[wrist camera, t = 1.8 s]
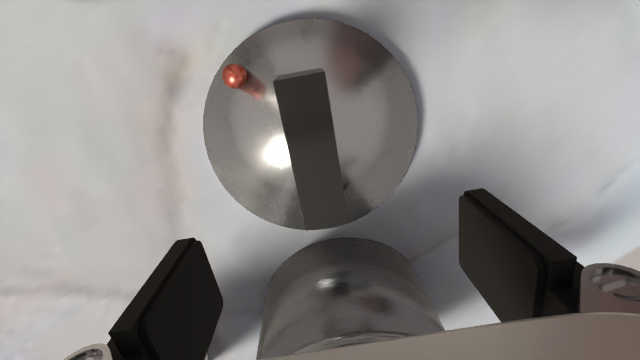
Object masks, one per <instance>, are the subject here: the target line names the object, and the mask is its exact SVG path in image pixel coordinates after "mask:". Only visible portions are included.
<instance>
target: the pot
mask: <svg viewBox="0 0 640 360" xmlns="http://www.w3.org/2000/svg"><path fill="white" fill-rule="evenodd" d="M440 331H445V329H444V327H443V326H442V324H441V322H440V320H439V318H438V316H437V314H436V312H435V310H434V308H433V306H432V304H431V302H430V300H429V298H428V296H427V294H426V292H425V290H424V288H423V286H422V284H421V282H420V281H419V279H418V277H417V275H416V273H415V271H414V269H413V267H412V266H411V265H410V263H409V262H408V261H407V260H406V259H405V258H404V257H403V256H402V255H401V254H399V253H398V252H397V251H395V250H394V249H392V248H390V247H388V246H386V245H384V244H381V243H378V242H376V241H371V240H367V239H360V238H338V239H330V240H326V241H322V242H319V243H316V244H313V245H310V246H308V247H306V248H304V249H302V250H300V251H299V252H297V253H296V254H294V255H292V256H291V257H290V258H289V259H288V260H286V261H285V262H284V263H283V264H282V265H281V266H280V267H279V269H278V270H277V271H276V273H275V274H274V276H273V277H272V279H271V282H270V284H269V286H268V290H267V293H266V300H265V306H264V313H263V319H262V326H261V332H260V338H259V345H258V351H257V358H256V360H260V359H266V358H272V357H278V356H284V355H291V354H297V353H303V352H310V351H316V350H323V349H329V348H335V347H342V346H348V345H355V344H361V343H368V342H374V341H380V340H387V339H393V338H400V337H407V336H413V335H420V334H427V333H433V332H440Z"/></svg>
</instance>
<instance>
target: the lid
mask: <svg viewBox="0 0 640 360" xmlns="http://www.w3.org/2000/svg"><path fill="white" fill-rule="evenodd" d="M203 132H204V140H205V146H206V150H207V153H208V157H209V160H210V162H211V165H212V167H213V170H214V171H215V173H216V175H217V177H218V178H219V180H220V182H221V183H222V185H223V186H224V187H225V189H226V190H227V191H228V192H229V193H230V195H231V196H232V197H233V198H234V199H235V200H236V201H237V202H238V203H240V204H241V205H242V206H243V207H245V208H246V209H247V210H249V211H250V212H252V213H253V214H255V215H256V216H258V217H260V218H262V219H264V220H266V221H268V222H271V223H274V224H277V225H280V226H284V227H288V228H293V229H302V230H319V229H328V228H333V227H337V226H341V225H344V224H347V223H350V222H353V221H355V220H357V219H359V218H361V217H363V216H365V215H366V214H368V213H369V212H371V211H372V210H374V209H375V208H377V207H378V206H379V205H380V204H381V203H383V202H384V201H385V200H386V199H387V198H388V197H389V196H390V195H391V194H392V193H393V191H394V190H395V189H396V187H397V186H398V185H399V183H400V182H401V180H402V179H403V177H404V175H405V173H406V172H407V170H408V167H409V165H410V163H411V160H412V157H413V154H414V150H415V147H416V141H417V134H418V115H417V106H416V102H415V98H414V94H413V91H412V88H411V86H410V83H409V81H408V78H407V76H406V75H405V73H404V71H403V70H402V68H401V66H400V65H399V63H398V62H397V61H396V60H395V58H394V57H393V56H392V54H391V53H390V52H389V51H388V50H387V49H385V48H384V47H383V46H382V45H381V44H380V43H379V42H378V41H376V40H375V39H373V38H372V37H371V36H369V35H368V34H366V33H364V32H362V31H360V30H358V29H356V28H354V27H352V26H349V25H346V24H343V23H340V22H337V21H331V20H326V19H311V18H305V19H296V20H289V21H285V22H282V23H278V24H274V25H272V26H270V27H268V28H265V29H263V30H261V31H259V32H257V33H256V34H254V35H252V36H251V37H249V38H248V39H246V40H245V41H244V42H243V43H241V44H240V45H239V46H238V47H237V48H236V49H234V51H233V52H232V53H231V54H230V55H229V56H228V57H227V59H226V60H225V61H224V62H223V64H222V65H221V67H220V69H219V70H218V72H217V73H216V75H215V77H214V79H213V82H212V84H211V86H210V88H209V92H208V95H207V99H206V102H205V109H204V116H203Z"/></svg>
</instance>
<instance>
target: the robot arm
mask: <svg viewBox="0 0 640 360" xmlns="http://www.w3.org/2000/svg"><path fill="white" fill-rule="evenodd" d="M576 260H577V257H576V256H575V255H573V254H572V253H571V252H569V251H568V250H567V249H565V248H564V247H562V246H561V245H560V244H558V243H557V242H556V241H554V240H553V239H552V238H550V237H549V236H547V235H546V234H545V233H543V232H542V231H541V230H539V229H538V228H537V227H535V226H534V225H533V224H531V223H530V222H528V221H527V220H526V219H524V218H523V217H522V216H520V215H519V214H518V213H516V212H515V211H513V210H512V209H511V208H509V207H508V206H507V205H505V204H504V203H503V202H501V201H500V200H499V199H497V198H496V197H494V196H493V195H492V194H490V193H489V192H488V191H486V190H485V189H483V188H481V189H475V190H469V191H465V192H464V195H463V196H460V198H459V262H460V265H461V268H462V269H463V271H464V272H465V273H466V275H467V276H468V278H469V279H470V280H471V282H472V283H473V284H474V286H475V287H476V288H477V290H478V291H479V293H480V294H481V295H482V297H483V298H484V299H485V301H486V302H487V303H488V305H489V306H490V308H491V309H492V310H493V312H494V313H495V314H496V316H497V317H498V318H499V320H500V321H501V323H494V324H487V325H480V326H474V327H467V328H460V329H454V330H447V331H440V332H433V333H427V334H420V335H413V336H407V337H400V338H393V339H387V340H380V341H374V342H368V343H361V344H355V345H348V346H342V347H335V348H329V349H323V350H316V351H310V352H303V353H297V354H291V355H284V356H278V357H272V358H266V359H260V360H640V272H639V271H637V270H635V269H632V268H628V267H625V266H621V265H616V264H608V263H596V264H592V265H588V266H586V267H584V266H582V265H581V264H580V263H578V262H577V261H576ZM222 308H223V298H222V295H221V293H220V290H219V287H218V285H217V282H216V279H215V277H214V274H213V271H212V269H211V266H210V264H209V261H208V258H207V256H206V253H205V250H204V248H203V245H202V243H201V242H200V241H197V240H196V239H195V238H188V239H182V240H177V241H176V242H175V243H174V244H173V246H172V247H171V248H170V250H169V251H168V252H167V254H166V255H165V256H164V258H163V259H162V261H161V262H160V263H159V265H158V266H157V267H156V269H155V270H154V271H153V273H152V274H151V275H150V277H149V278H148V280H147V281H146V282H145V284H144V285H143V286H142V288H141V289H140V290H139V292H138V293H137V294H136V296H135V297H134V299H133V300H132V301H131V303H130V304H129V305H128V307H127V308H126V309H125V311H124V312H123V313H122V315H121V316H120V318H119V319H118V320H117V322H116V323H115V324H114V326H113V327H112V328H111V330H110V331H109V335H110V337H111V339H110V341H109V342H108V344H107V345H105V344H102V343H100V344H93V345H90V346H86V347H84V348H82V349H80V350H78V351H76V352H74V353H73V354H71V355H70V356H68V357H67V358H65V359H64V360H205V357H206V354H207V351H208V348H209V346H210V343H211V340H212V337H213V334H214V331H215V328H216V325H217V323H218V320H219V317H220V314H221V311H222Z"/></svg>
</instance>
